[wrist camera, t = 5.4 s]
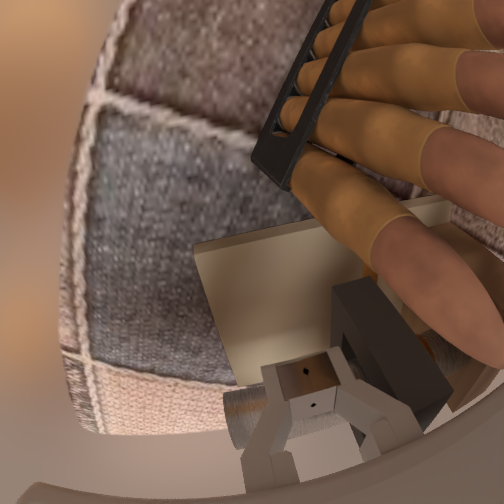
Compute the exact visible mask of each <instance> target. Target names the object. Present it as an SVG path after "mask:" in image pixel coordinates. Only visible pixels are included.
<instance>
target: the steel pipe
mask: <svg viewBox="0 0 504 504" xmlns="http://www.w3.org/2000/svg"><path fill="white" fill-rule="evenodd" d="M415 335H416V336H417V337H418V339H419V340H420V341H421V343H422V344H423V346H424V347H425V348H426V350H427V351H428V353H429V354H430V355H431V357H432V358H433V360H434V361H435V363H436V364H437V366H438V367H439V368H440V370H441V371H442V373H443V374H444V376H445V377H447V376H449V375H451V374H453V373H454V372H456V371H458V370H459V369H461V368H463V367H464V366H466V365H467V364H468V362H469V361H470V358H471V356H469V355H467V354H465V353H464V352H463V351H461V350H460V349H458V348H457V347H456V346H454V345H453V344H451V343H450V342H449V341H447V340H446V339H444V338H443V337H442V336H441V335H439V334H438V333H437V332H436V331H434V330H433V329H432V328H431V329H429V330H427V331H424V332H422V333H420V334H415ZM347 363H348V365H349V367H350V369H351V371H352V373H353V375H354V377H355V379H356V380H357V379H361V380H363V381H364V382H366V383H368V384H370V382H369V380H368V378H367V376H366V374H365V372H364V370H363V368H362V366H361V364H360V363H359V361H358V359H357V358H355V359H352V360H349V361H347ZM370 385H371V384H370ZM223 404H224V412H225V417H226V422H227V426H228V430H229V434H230V437H231V440H232V442H233V444H234V447H235V448H236V449H237V450H239V449H244V448H246V446H247V444H248V442H249V440H250V437H251V435H252V433H253V431H254V429H255V427H256V424H257V422H258V420H259V418H260V416H261V413H262V411H263V409H264V407H265V406H266V405H269V403H268V399H267V395H266V391H265V386H264V385H259V386H255V387H250V388H245V389H240V390H235V391H230V392H225V393H224V394H223ZM345 422H348V421H346V420H345V419H344V418H342V417H341V416H340V415H339V414H337V413H336V412H335V411H334V410H332V411H329V412H325V413H322V414H318V415H314V416H311V417H308V418H304V419H301V420H298V421H294V422H293V424H292V427H291V430H290V433H289V435H288V438H287V439H291V438H295V437H299V436H303V435H306V434H310V433H313V432H317V431H320V430H323V429H326V428H330V427H333V426H336V425H339V424H342V423H345Z"/></svg>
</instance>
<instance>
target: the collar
mask: <svg viewBox="0 0 504 504" xmlns="http://www.w3.org/2000/svg"><path fill="white" fill-rule="evenodd" d="M336 346H338V347H340V349H341V351H342V353H343V355H344V357H345V359H346V361H349V360H352V359H355V358H357V359H358V361H359V363H360V364H361V366H362V368H363V370H364V372H365V374H366V376H367V378H368V380H369V382H370V384H371V386H373V387H375V388H377V389H378V390H380V391H382V392H384V393H386V394H387V395H389V396H391V397H393V398H395V399H396V400H398V401H400V402H402V403H404V404H406V405H408V406H409V407H410V409H411V410H412V412H413V414H414V416H415V418H416V420H417V422H418V424H419V425H420V427H421V429H422V431H423V432H424V431H425V430H426V428H427V427H428V426H429V425H430V423H431V422H432V421H433V420H434V418H435V417H436V416H437V414H438V413H439V412H440V410H441V409H442V407H443V406H444V405H445V403H446V402H447V401H448V399H449V398H450V396H451V395H452V393H453V392H454V389H453V388H452V386H451V385H450V383H449V382H448V380H447V379H446V377H445V376H444V374H443V373H442V371H441V370H440V368H439V367H438V366H437V364H436V363H435V361H434V360H433V358H432V357H431V355H430V354H429V353H428V351H427V350H426V348H425V347H424V346H423V344H422V343H421V341H420V340H419V339H418V337H417V336H416V335H415V333H414V332H413V330H412V329H411V328H410V326H409V325H408V324H407V322H406V321H405V320H404V318H403V317H402V316H401V315H400V313H399V312H398V311H397V309H396V308H395V307H394V305H393V304H392V303H391V302H390V300H389V299H388V298H387V296H386V295H385V294H384V293H383V291H382V290H381V289H380V288H379V286H378V285H377V284H376V283H375V281H374V280H373V279H372V278H371V277H370V276H367V277H364V278H360V279H357V280H353V281H350V282H346V283H342V284H339V285H335V286H332V294H331V333H330V348H333V347H336ZM349 424H350V423H349ZM350 426H351V429H352V431H353V433H354V436H355V438H356V441H357V443H358V445H359V448H360V447H361V445H362V443H363V441H364V439H365V437H366V435H365V434H364V433H363V432H361V431H360V430H359V429H357V428H356V427H354V426H353V425H352V424H350Z"/></svg>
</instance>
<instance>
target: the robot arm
mask: <svg viewBox="0 0 504 504" xmlns="http://www.w3.org/2000/svg"><path fill="white" fill-rule="evenodd" d="M260 368H261V374H262V378H263V382H264V386H265V391H266V395H267V399H268V403H269V405H266V406H265V407H264V409H263V411H262V413H261V416H260V418H259V420H258V422H257V424H256V427H255V429H254V431H253V433H252V435H251V437H250V440H249V442H248V444H247V446H246V448H245V450H244V452H243V454H242V456H241V458H240V459H241V465H242V471H243V477H244V483H245V489H246V494H238V495H231V496H221V497H209V498H192V499H148V498H131V497H119V496H110V495H103V494H95V493H89V492H83V491H78V490H72V489H68V488H63V487H59V486H54V485H51V484H47V483H43V482H35V483H34V484H32V485H31V486H30V487H29V488H28V489H27V490H26V491H25V492H24V493H23V494H22V495H21V496H20V498H19V499H18V500H17V502H16V504H504V383H502V384H501V385H500V386H499V387H497V388H496V389H495V390H494V391H492V392H491V393H490V394H488V395H487V396H485V397H484V398H483V399H481V400H480V401H479V402H477V403H476V404H474V405H473V406H471V407H470V408H468V409H467V410H465V411H464V412H462V413H461V414H459V415H458V416H456V417H454V418H453V419H451V420H450V421H448V422H446V423H445V424H443V425H441V426H440V427H438V428H436V429H434V430H432V431H431V432H429V433H427V434H425V435H424V433H423V431H422V429H421V427H420V425H419V424H418V422H417V420H416V418H415V416H414V414H413V412H412V410H411V409H410V407H409V406H408V405H406V404H404V403H402V402H400V401H398V400H396V399H395V398H393V397H391V396H389V395H387V394H386V393H384V392H382V391H380V390H378V389H377V388H375V387H373V386H371V385H370V384H368V383H366V382H364V381H363V380H361V379H357V380H356V379H355V377H354V375H353V373H352V371H351V369H350V367H349V365H348V363H347V361H346V359H345V357H344V355H343V353H342V351H341V349H340V347H338V346H336V347H333V348H330V349H327V350H322V351H319V352H315V353H312V354H308V355H305V356H301V357H299V358H295V359H291V360H287V361H283V362H278V363H273V364H269V365H265V366H260ZM332 410H334V411H335V412H336V413H337V414H339V415H340V416H341V417H342V418H344V419H345V420H346V421H348V422H349V423H350V424H352V425H353V426H354V427H356V428H357V429H359V430H360V431H361V432H363V433H364V434H365V435H366V437H365V439H364V441H363V443H362V445H361V447H360V449H359V451H360V453H361V456H362V459H363V461H364V463H362V464H359V465H356V466H354V467H351V468H348V469H345V470H342V471H339V472H336V473H333V474H329V475H326V476H323V477H319V478H316V479H312V480H309V481H305V482H301V483H300V481H299V477H298V474H297V470H296V467H295V463H294V460H293V456H292V453H291V452H288V451H283V450H284V447H285V444H286V441H287V438H288V435H289V433H290V430H291V427H292V424H293V422H294V421H298V420H301V419H304V418H308V417H311V416H314V415H318V414H322V413H325V412H329V411H332Z"/></svg>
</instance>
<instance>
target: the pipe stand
mask: <svg viewBox="0 0 504 504" xmlns="http://www.w3.org/2000/svg"><path fill="white" fill-rule="evenodd" d="M399 203H401V204H402V205H403V206H404V207H406V208H407V209H408V210H410V211H411V212H412V213H413V214H415V215H416V216H417V217H418V218H419V219H420V220H421V221H422V223H423V224H425V225H426V226H427V227H429V228H430V229H431V230H432V231H434V232H435V233H436V234H437V235H439V236H440V237H441V238H442V239H443V240H445V241H446V242H447V243H448V244H449V245H450V246H451V247H452V249H453V250H454V251H455V252H456V253H457V254H458V255H459V256H460V257H461V258H462V259H463V260H464V262H465V263H466V264H467V265H468V266H469V267H470V269H471V270H472V271H473V273H474V274H475V275H476V277H477V278H478V279H479V281H480V282H481V284H482V285H483V286H484V288H485V289H486V291H487V292H488V294H489V296H490V298H491V299H492V301H493V303H494V305H495V307H496V308H497V310H498V312H499V314H500V316H501V318H502V321H503V323H504V262H503V261H501V260H500V259H499V258H498V257H496V256H495V255H494V254H493V253H491V252H490V251H489V250H488V249H486V248H485V247H484V246H483V245H481V244H480V243H479V242H477V241H476V240H475V239H473V238H472V237H471V236H469V235H468V234H467V233H465V232H464V231H462V230H461V229H460V228H458V227H457V226H455V225H454V224H453V223H451V222H450V219H451V212H452V204H453V203H452V202H450V201H449V200H447V199H445V198H443V197H442V196H440V195H438V194H437V195H431V196H426V197H420V198H415V199H409V200H404V201H399ZM193 255H194V259H195V262H196V265H197V268H198V272H199V275H200V278H201V281H202V284H203V287H204V290H205V294H206V297H207V300H208V303H209V306H210V309H211V312H212V315H213V318H214V320H215V323H216V326H217V329H218V332H219V335H220V338H221V341H222V343H223V346H224V349H225V352H226V355H227V357H228V360H229V363H230V366H231V368H232V371H233V374H234V376H235V379H236V382H237V384H238V387H241V386H246V385H250V384H255V383H260V382H263V378H262V374H261V368H260V366H265V365H269V364H273V363H278V362H283V361H287V360H291V359H295V358H299V357H301V356H305V355H308V354H312V353H315V352H319V351H322V350H327V349H330V333H331V294H332V286H335V285H339V284H342V283H346V282H350V281H353V280H357V279H360V278H364V277H367V276H370V277H371V278H372V279H373V280H374V281H375V283H376V284H377V285H378V286H379V288H380V289H381V290H382V291H383V293H384V294H385V295H386V296H387V298H388V299H389V300H390V302H391V303H392V304H393V305H394V307H395V308H396V309H397V311H398V312H399V313H400V315H401V316H402V317H403V318H404V320H405V321H406V322H407V324H408V325H409V326H410V328H411V329H412V330H413V332H414V333H415V334H420V333H422V332H424V331H427V330H429V329H431V327H430V326H429V325H427V324H426V323H425V322H424V321H423V320H422V319H421V318H420V317H419V316H418V315H416V314H415V313H414V312H413V311H412V310H411V309H410V308H409V307H408V306H407V305H406V304H405V303H404V302H403V301H402V300H401V299H400V298H399V297H398V296H397V295H396V294H395V293H394V292H393V290H392V289H391V288H390V287H389V286H388V285H387V284H386V282H385V281H384V280H383V279H382V278H381V277H380V276H379V275H378V274H377V273H375V272H374V271H372V269H371V268H370V267H369V266H368V265H367V264H366V263H365V262H364V261H363V260H362V259H361V258H360V257H359V256H358V255H357V254H356V253H355V252H354V251H352V250H350V249H349V248H347V247H346V246H344V245H342V244H341V243H339V242H338V241H336V240H335V239H334V238H333V237H332V236H331V235H330V234H329V233H328V232H327V231H326V230H325V228H324V227H323V226H322V225H321V224H320V223H319V222H318V220H317V219H316V218H313V219H308V220H303V221H299V222H294V223H289V224H284V225H280V226H275V227H270V228H266V229H261V230H256V231H252V232H247V233H243V234H238V235H234V236H229V237H225V238H220V239H216V240H211V241H207V242H202V243H198V244H194V247H193ZM500 370H501V369H496V368H493V367H491V366H489V365H486V364H484V363H482V362H480V361H478V360H476V359H474V358H472V357H471V358H470V361H469V362H468V364H467V365H466V366H464V367H463V368H461V369H459V370H458V371H456V372H454V373H453V374H451V375H449V376H447V377H446V379H447V380H448V382H449V383H450V385H451V386H452V388H453V389H454V392H453V393H452V395H451V396H450V398H449V399H448V401H447V402H446V403H447V404H448V406H449V408H450V409H451V411H452V412H455V411H456V410H458V409H460V408H461V407H462V406H464V405H466V404H467V403H469V402H470V401H472V400H473V399H475V398H476V397H477V396H479V395H480V394H482V393H483V392H484V391H485V390H486V389H487V388H488V386H489V385H490V384H491V382H492V381H493V379H494V378H495V377H496V375H497V374H498V372H499V371H500Z"/></svg>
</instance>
